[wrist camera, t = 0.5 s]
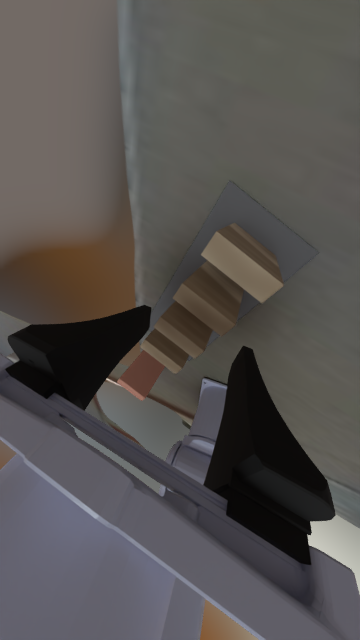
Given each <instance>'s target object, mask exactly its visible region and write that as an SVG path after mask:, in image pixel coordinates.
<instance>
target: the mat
mask: <svg viewBox="0 0 360 640" xmlns="http://www.w3.org/2000/svg"><path fill="white" fill-rule="evenodd" d="M233 223H236V224H237V225H238V226H240V227H241V228H242V229H243V230H245V231H246V232H247V233H248V234H250V235H251V236H252V237H253V238H254V239H256V240H257V241H258V242H259V243H261V244H262V245H263V246H264V247H266V248H267V249H268V250H269V251H271V252H272V253H273V254H274V255H276V258H277V262H278V265H279V269H280V273H281V276H282V280H283V283H284V282H285V281H286V280H287V279H289V278H290V277H291V276H292V275H293V274H295V273H296V272H297V271H298V270H299V269H301V268H302V267H303V266H304V265H305V264H307V263H308V262H309V261H310V260H311V259H313V258H314V257H315V256H316V255H317V254H319V252H318V251H316V250H315V249H314V248H313V247H311V246H310V245H309V244H308V243H306V242H305V241H304V240H303V239H302V238H300V237H299V236H298V235H297V234H295V233H294V232H293V231H292V230H290V229H289V228H288V227H287V226H285V225H284V224H283V223H282V222H281V221H279V220H278V219H277V218H276V217H274V216H273V215H272V214H271V213H269V212H268V211H267V210H266V209H265V208H263V207H262V206H261V205H260V204H258V203H257V202H256V201H255V200H253V199H252V198H251V197H250V196H248V195H247V194H246V193H245V192H244V191H242V190H241V189H240V188H239V187H237V186H236V185H235V184H234V183H232V182H231V181H229V182H228V184H227V186H226V187H225V189H224V191H223V192H222V194H221V196H220V198H219V199H218V201H217V203H216V204H215V206H214V208H213V209H212V211H211V213H210V214H209V216H208V218H207V220H206V221H205V223H204V225H203V226H202V228H201V230H200V231H199V233H198V235H197V236H196V238H195V240H194V242H193V243H192V245H191V247H190V248H189V250H188V252H187V253H186V255H185V257H184V258H183V260H182V262H181V264H180V265H179V267H178V269H177V270H176V272H175V274H174V275H173V277H172V279H171V280H170V282H169V284H168V286H167V287H166V289H165V291H164V292H163V294H162V296H161V297H160V299H159V301H158V302H157V304H156V306H155V307H154V309H153V311H152V313H151V318H150V328H149V329H148V330H149V331H151V332H152V331H153V330H154V329H155V328H154V326H155V324H156V323H157V321H158V320H159V318H160V317H161V316H162V315H163V313H164V312H165V311H166V310H167V309H168V308H169V307H170V306H171V305H172V304H173V303H174V302H175V301H176V300H174V299H173V297H174V295H175V294H176V292H177V291H178V289H179V288H180V286H181V285H182V283H183V282H184V281H185V280H186V279H188V278H189V277H190V276H191V275H192V274H193V273H194V272H195V271H196V270H197V269H198V268H199V267H201V266H202V265H203V264H204V263H205V262H206V261H207V259H205V258H204V257H203V256H202V255H201V254H202V252H203V251H204V249H205V248H206V246H207V245H208V243H209V242H210V240H211V239H212V237H213V236H214V234H215V233H216V231H218V230H220V229H222V228H224V227H226V226H229V225H231V224H233ZM258 303H260V302H259V301H258V300H257V299H256V298H254V297H253V296H252V295H251V294H249V293H248V292H247V291H246V290H244V291H243V296H242V300H241V304H240V309H239V313H238V317H237V321H238V320H239V319H240V318H242V317H243V316H244V315H245V314H246V313H248V312H249V311H250V310H251V309H252V308H254V307H255V306H256V305H257V304H258ZM237 321H236V322H237ZM219 336H220V335H219V334H218V333H216V332H215V331H214V330H213V331H212V334H211V336H210V338H209V341H208V343H207V346H208V345H209V344H210V343H212V342H213V341H214V340H215V339H216V338H218V337H219ZM207 346H206V347H207ZM192 358H193V357H192V356H190V355H189V357H188V359H187V360H188V361H190V360H191V359H192Z"/></svg>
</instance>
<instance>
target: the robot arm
mask: <svg viewBox="0 0 360 640" xmlns="http://www.w3.org/2000/svg"><path fill="white" fill-rule="evenodd" d="M150 318H151V307H148V306H146V305H143V306H140V307H137V308H134V309H131V310H128V311H125V312H122V313H118V314H115V315H111V316H108V317H104V318H100V319H95V320H90V321H84V322H76V323H67V324H48V325H47V324H43V325H30V326H28V327H26V328H24V329H22V330H20V331H18V332H16V333H14V334H12V335H10V336H8V342H9V344H10V346H11V348H12V349H13V351H14V352H15V354H16V355H17V357H18V358H19V361H17V362H16V363H14V362H13V361H11V360H10V359H9V358H7V357H5V356H4V355H2V354H1V353H0V440H1V441H3V442H4V443H5V444H6V445H8V446H9V447H10V448H11V449H12V450H14V451H15V452H16V453H17V454H16V455H15V456H14V457H13V458H12V459H11V460H10V461H9V462H8V463H7V464H6V465H5V466H4V467H3V468H2V469H1V470H0V640H200V634H201V626H202V620H203V612H204V605H205V599H206V600H208V601H209V602H211V603H212V604H213V605H214V606H216V607H217V608H218V609H220V610H221V611H222V612H224V613H225V614H226V615H227V616H229V617H230V618H231V619H233V620H234V621H235V622H237V623H238V624H240V625H241V626H242V627H243V628H245V629H246V630H247V631H249V632H250V633H251V634H253V635H254V636H255V637H257V638H258V639H259V640H360V595H359V591H358V587H357V583H356V579H355V575H354V573H353V572H352V570H351V569H350V568H348V567H346V566H345V565H343V564H342V563H340V562H338V561H337V560H335V559H333V558H332V557H330V556H328V555H327V554H325V553H324V552H322V551H320V550H318V549H316V548H314V547H312V546H309V545H308V537H307V534H308V535H311V533H312V532H311V525H310V521H327V520H331V519H332V518H333V517H334V516H335V510H334V505H333V501H332V497H331V493H330V489H329V486H328V482H327V480H326V479H325V477H324V476H323V475H322V473H321V472H320V471H319V470H318V468H317V467H316V466H315V464H314V463H313V462H312V461H311V459H310V458H309V457H308V455H307V454H306V453H305V451H304V450H303V449H302V447H301V446H300V444H299V443H298V442H297V440H296V439H295V437H294V436H293V434H292V433H291V431H290V430H289V428H288V427H287V425H286V423H285V422H284V420H283V419H282V417H281V415H280V414H279V412H278V410H277V408H276V407H275V405H274V403H273V401H272V399H271V397H270V395H269V393H268V391H267V388H266V386H265V384H264V381H263V379H262V376H261V374H260V371H259V368H258V365H257V362H256V359H255V356H254V353H253V350H252V349H250V348H248V347H245V346H243V347H242V349H241V350H240V352H239V353H238V355H237V357H236V358H235V360H234V362H233V363H232V366H231V369H230V373H229V377H228V383H227V385H224V384H221V383H218V382H216V381H213V380H210V379H207V378H203V380H202V386H201V392H200V398H199V404H198V408H197V411H196V414H195V417H194V420H193V423H192V426H191V429H190V432H189V435H188V436H187V435H185V436H184V439H183V441H178V442H177V443H176V444H174V445H173V446H172V448H171V450H170V451H169V454H168V456H167V458H166V461H163V460H162V459H160V458H159V457H157V456H155V455H154V454H152V453H151V452H149V451H147V450H146V449H144V448H143V447H141V446H139V445H138V444H136V443H135V442H133V441H131V440H130V439H128V438H127V437H125V436H123V435H122V434H120V433H119V432H117V431H115V430H114V429H112V428H111V427H109V426H107V425H106V424H104V423H103V422H101V421H100V420H98V419H96V418H95V417H93V416H92V415H90V414H88V413H87V412H85V409H86V407H87V406H88V404H89V403H90V401H91V400H92V398H93V397H94V395H95V394H96V392H97V391H98V389H99V388H100V387H101V385H102V384H103V382H104V381H105V380H106V378H107V377H108V376H109V374H110V373H111V372H112V370H113V369H114V368H115V367H116V365H117V364H118V363H119V361H120V360H121V359H122V358H123V357H124V356H125V355H126V354H127V353H128V352H129V351H130V350H131V349H132V348H133V347H134V346H135V345H136V344H137V343H138V342H139V340H140V339H141V338H142V337H143V336H144V335H145V333H146V332H147V331H148V329H149V328H150ZM63 419H64V420H63ZM66 421H67V422H68V423H70V424H71V425H73V426H74V427H76V428H77V429H79V430H80V431H82V432H83V433H85V434H86V435H88V436H89V437H91V438H92V439H94V440H96V441H97V442H98V443H100V444H101V445H103V446H105V447H106V448H107V449H109V450H110V451H112V452H114V453H115V454H117V455H118V456H120V457H121V458H123V459H124V460H126V461H127V462H129V463H130V464H132V465H133V466H135V467H136V468H138V469H139V470H141V471H142V472H144V473H145V474H147V475H148V476H150V477H151V478H153V479H154V480H156V481H157V482H159V483H160V484H161V486H160V490H159V494H157V493H156V492H155V491H153V490H152V489H151V488H149V487H148V486H147V485H146V484H144V483H143V482H142V481H140V480H139V479H138V478H136V477H135V476H134V475H133V474H131V473H130V472H129V471H127V470H126V469H124V468H123V467H122V466H120V465H119V464H118V463H116V462H115V461H113V460H112V459H110V458H109V457H107V456H106V455H104V454H103V453H102V452H100V451H99V450H97V449H96V448H94V447H93V446H91V445H89V444H88V443H86V442H85V441H83V440H81V439H80V438H78V436H77V435H76V433H75V430H74V428H73V427H71V425H69V424H68V423H67V422H66Z"/></svg>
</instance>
